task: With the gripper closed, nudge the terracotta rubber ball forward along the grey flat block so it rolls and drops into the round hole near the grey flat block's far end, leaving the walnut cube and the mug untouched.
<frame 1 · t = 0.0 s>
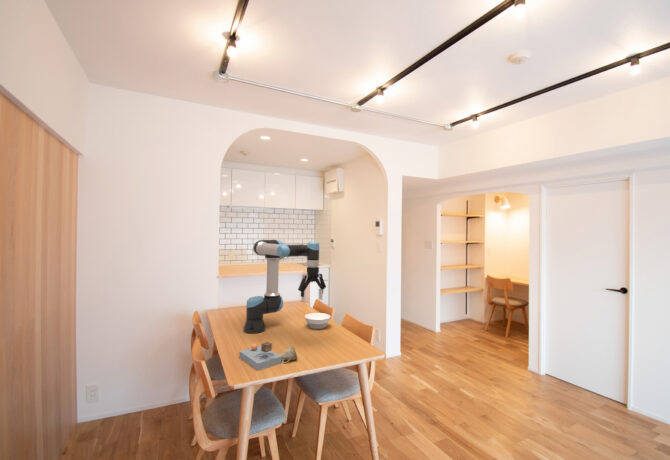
hand: (312, 300, 192), 28 cm above the table, fingers open, 13 cm apart
walnut cube: (266, 350, 173), point 3 cm above the table, touching grey flat block
ball: (254, 346, 174), point 5 cm above the table, touching grey flat block
grey flat block: (259, 360, 169), on the table
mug: (288, 360, 169), on the table
bowl: (317, 327, 230), on the table
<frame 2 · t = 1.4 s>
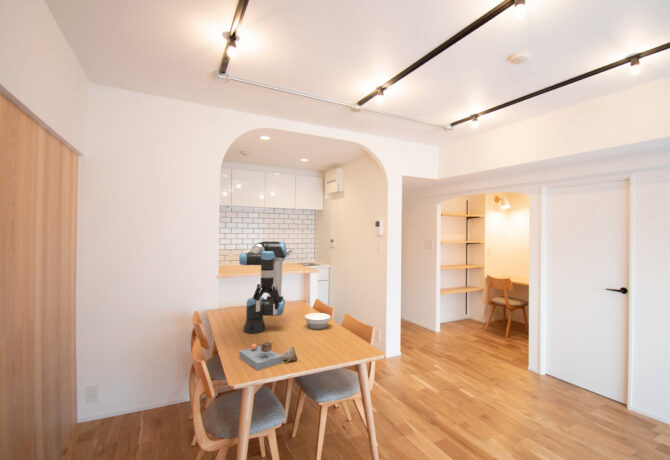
hand: (266, 312, 183), 22 cm above the table, fingers open, 13 cm apart
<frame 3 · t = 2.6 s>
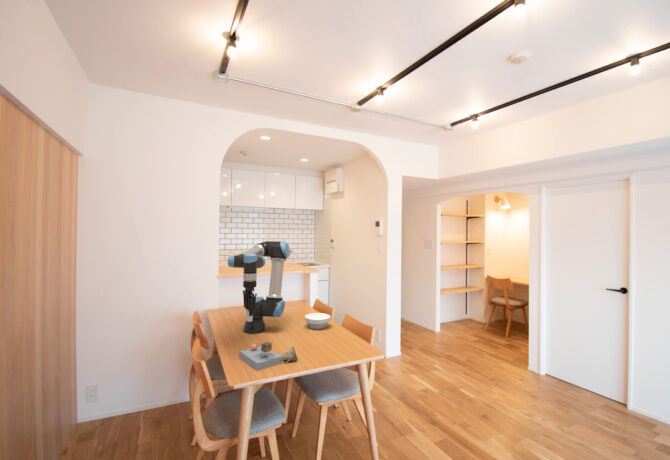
hand: (249, 320, 179), 18 cm above the table, fingers closed
nothing on the table moved.
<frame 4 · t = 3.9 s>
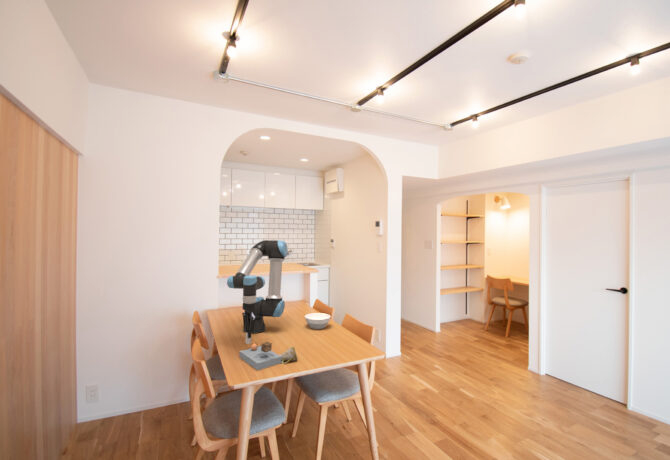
hand: (248, 343, 179), 6 cm above the table, fingers closed
nothing on the table moved.
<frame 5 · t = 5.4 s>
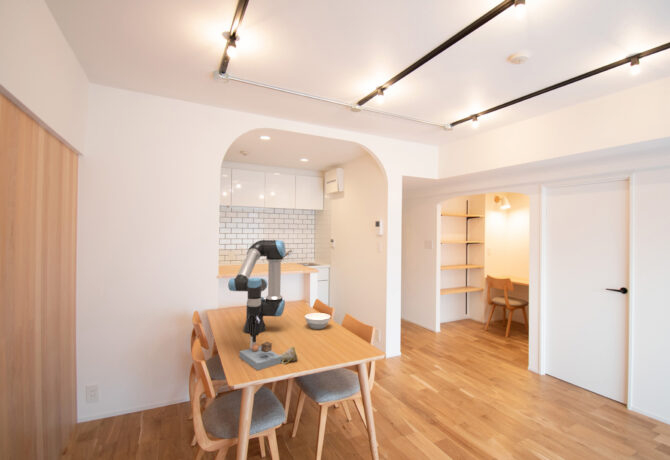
hand: (253, 347, 174), 5 cm above the table, fingers closed
ball: (255, 347, 173), point 5 cm above the table, tilted 56°, touching grey flat block
everything else where it was.
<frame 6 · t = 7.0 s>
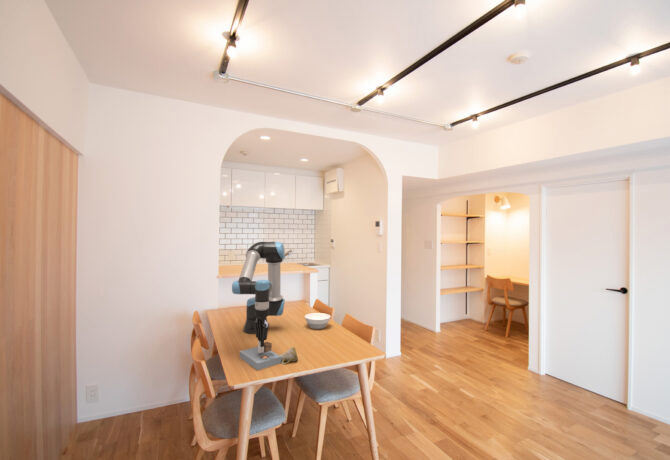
hand: (260, 351, 168), 5 cm above the table, fingers closed
ball: (264, 359, 165), point 2 cm above the table, tilted 58°
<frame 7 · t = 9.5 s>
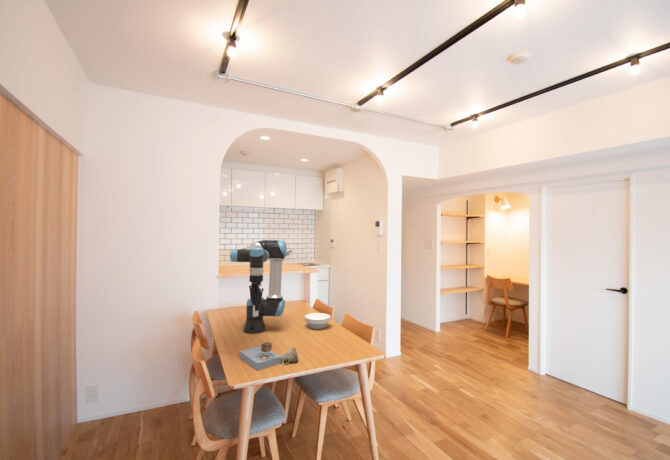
hand: (255, 316, 175), 22 cm above the table, fingers closed
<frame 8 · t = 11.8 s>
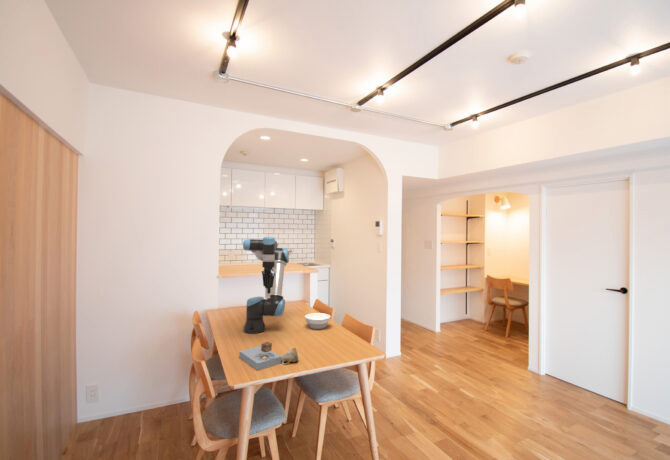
hand: (267, 298, 195), 28 cm above the table, fingers closed
at the end: ball 0.1 cm from the target spot on the grey flat block, point 1.7 cm above the grey flat block's base; walnut cube moved 0.0 cm from its start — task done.
